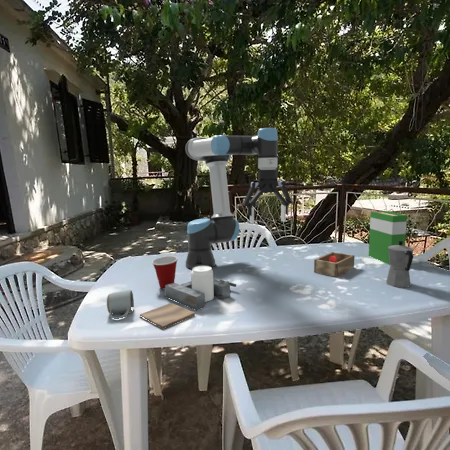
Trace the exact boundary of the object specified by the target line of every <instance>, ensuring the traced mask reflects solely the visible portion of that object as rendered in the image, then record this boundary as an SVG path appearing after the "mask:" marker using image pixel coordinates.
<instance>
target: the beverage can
mask: <svg viewBox="0 0 450 450" xmlns="http://www.w3.org/2000/svg"><path fill="white" fill-rule="evenodd" d="M212 268H213V267H212ZM212 268H211V267H209V266H197V267H194V268H193V269H191V272H190V273H191V275H190V276H191V278H192V289H193V290H196V291H199V292H201V293H204V294H205V303H207V301H208V302H210V301H212V300H214V298H215V297H214V285H213V279H214V271H213V269H212ZM191 278H190V279H191Z"/></svg>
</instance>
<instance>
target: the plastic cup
mask: <svg viewBox="0 0 450 450" xmlns="http://www.w3.org/2000/svg"><path fill="white" fill-rule="evenodd" d="M177 262H178V256H175V255H174V256H173V255H169V256H168V255H166V256H161V257H156V258H155V259H152V261H151V264H152V265H153V268H154V269H155V272H156V278H157V280H158V285H159V287H161V288H160V289H162V288H165V285H168V284H171V283H175V279H176V271H177Z"/></svg>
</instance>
